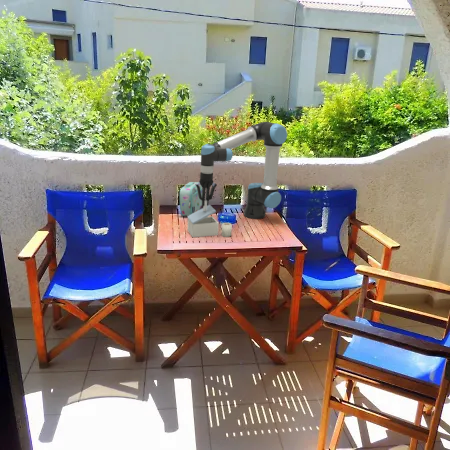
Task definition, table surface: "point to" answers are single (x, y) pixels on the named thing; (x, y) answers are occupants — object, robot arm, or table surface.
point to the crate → (203, 227)
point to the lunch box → (190, 199)
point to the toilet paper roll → (226, 229)
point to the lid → (201, 214)
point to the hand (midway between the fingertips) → (204, 210)
